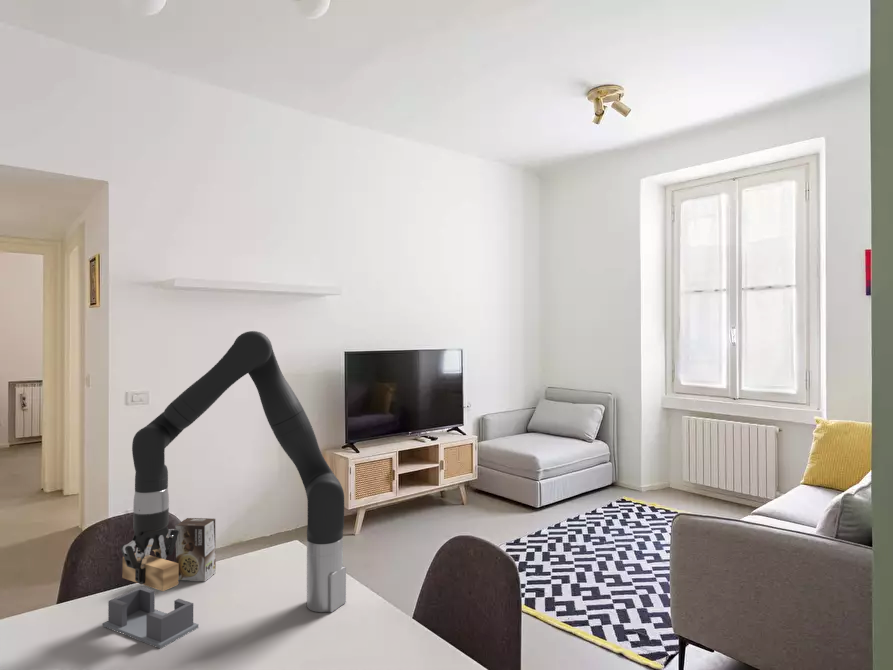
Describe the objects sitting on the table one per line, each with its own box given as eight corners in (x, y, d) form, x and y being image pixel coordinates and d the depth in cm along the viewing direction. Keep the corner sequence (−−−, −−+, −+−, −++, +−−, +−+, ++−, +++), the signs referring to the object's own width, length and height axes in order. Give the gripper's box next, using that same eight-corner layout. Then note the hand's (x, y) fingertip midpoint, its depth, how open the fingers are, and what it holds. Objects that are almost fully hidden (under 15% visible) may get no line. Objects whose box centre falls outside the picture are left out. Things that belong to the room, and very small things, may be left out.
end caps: (198, 627, 132) (198, 602, 132) (160, 648, 123) (160, 621, 123) (142, 608, 141) (142, 584, 141) (103, 626, 133) (103, 601, 133)
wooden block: (178, 584, 131) (178, 563, 131) (163, 591, 127) (163, 569, 127) (138, 571, 137) (138, 551, 137) (122, 578, 134) (122, 557, 134)
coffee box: (216, 572, 163) (216, 518, 163) (204, 582, 156) (205, 525, 156) (187, 571, 164) (187, 517, 164) (174, 580, 157) (174, 524, 157)
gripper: (132, 518, 124) (131, 594, 124) (187, 502, 137) (186, 571, 137) (112, 513, 128) (111, 587, 128) (167, 498, 140) (166, 565, 140)
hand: (150, 578), depth 132 cm, fingers closed on wooden block, 4 cm apart
